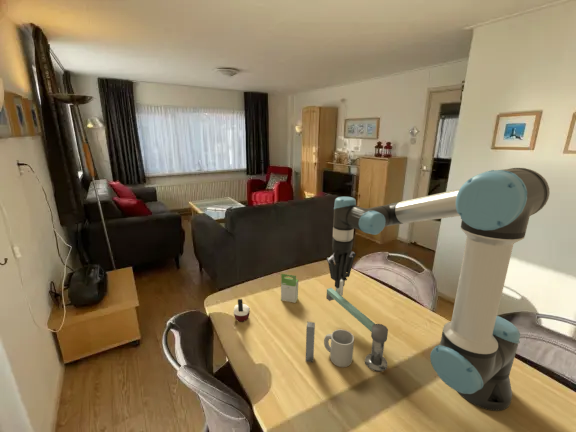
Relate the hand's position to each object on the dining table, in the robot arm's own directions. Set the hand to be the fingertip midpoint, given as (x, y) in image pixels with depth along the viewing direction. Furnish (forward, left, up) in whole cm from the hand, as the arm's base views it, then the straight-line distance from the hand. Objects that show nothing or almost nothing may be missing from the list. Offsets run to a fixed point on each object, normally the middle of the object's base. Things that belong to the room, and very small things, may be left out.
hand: (339, 294), depth 112 cm
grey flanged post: (-23, +9, -11) cm, 27 cm away
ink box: (+23, +6, -11) cm, 26 cm away
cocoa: (+25, +30, -11) cm, 40 cm away
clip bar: (-11, +6, -3) cm, 13 cm away
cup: (-14, +17, -11) cm, 24 cm away
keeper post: (-8, +24, -11) cm, 28 cm away
